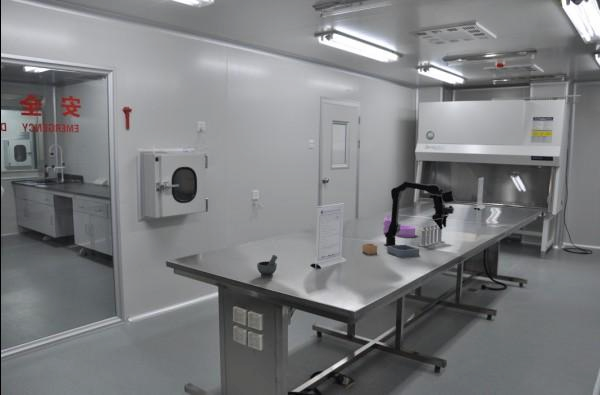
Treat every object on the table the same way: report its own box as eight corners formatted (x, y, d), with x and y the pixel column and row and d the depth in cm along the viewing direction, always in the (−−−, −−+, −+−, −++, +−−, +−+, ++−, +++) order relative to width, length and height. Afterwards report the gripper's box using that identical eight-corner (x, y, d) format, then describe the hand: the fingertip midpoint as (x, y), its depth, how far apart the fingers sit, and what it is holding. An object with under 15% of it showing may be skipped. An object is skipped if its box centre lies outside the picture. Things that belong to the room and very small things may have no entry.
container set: (417, 234, 353) (418, 217, 351) (410, 238, 340) (411, 220, 339) (387, 231, 367) (387, 214, 365) (379, 234, 354) (379, 217, 353)
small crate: (362, 252, 293) (362, 244, 292) (371, 251, 295) (371, 243, 295) (367, 254, 287) (368, 246, 286) (376, 253, 289) (377, 245, 289)
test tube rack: (423, 247, 309) (424, 227, 308) (418, 246, 313) (418, 226, 311) (444, 242, 325) (445, 223, 324) (439, 241, 329) (439, 223, 327)
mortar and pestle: (253, 277, 235) (253, 254, 233) (265, 273, 242) (265, 250, 241) (270, 281, 228) (270, 257, 227) (282, 276, 236) (282, 253, 235)
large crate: (387, 252, 293) (387, 246, 292) (405, 250, 298) (405, 244, 297) (400, 257, 280) (400, 250, 279) (419, 255, 285) (419, 249, 285)
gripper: (447, 203, 281) (452, 228, 281) (454, 200, 297) (459, 224, 297) (429, 206, 287) (434, 231, 287) (437, 203, 303) (442, 226, 303)
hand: (443, 228), depth 293 cm, fingers open, 9 cm apart
